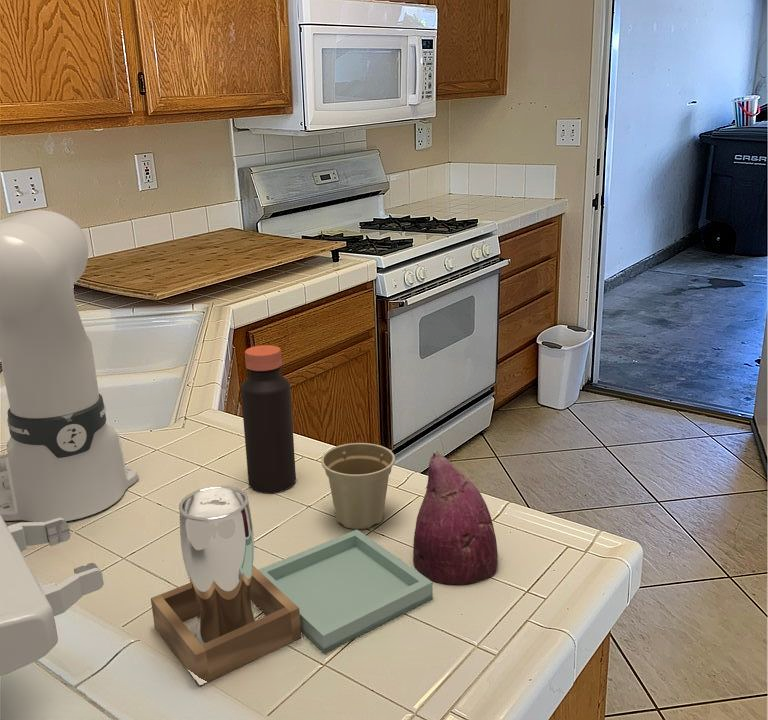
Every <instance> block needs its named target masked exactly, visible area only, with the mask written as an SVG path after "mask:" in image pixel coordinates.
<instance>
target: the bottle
mask: <svg viewBox="0 0 768 720" xmlns="http://www.w3.org/2000/svg"><path fill="white" fill-rule="evenodd" d="M282 359H283V358H282V349H281V348H280V347H279V346H277V345H270V344H267V345H266V344H265V345H255V346H251V347H249V348H247V349H246V350H244V361H245V368H246V372H248V377H247V378H246V379H244V381H243V383H242V384H241V386H240V395H241V396H240V397H241V398H240V399H241V408H242V419H243V421H242V422H243V432H244V433H243V434H244V443H245V445H244V446H245V454H246V458H245V459H246V467H247V469H246V470H247V478H248V479H247V480H248V486H249V487H250V488H251V490H253V491H255V492H257V493H261V492H262V494H276V493H275V492H277V493H281V492H285V491H286V490H288V489H290V488H292V486H294V485H295V483H296V481H297V478H296V477H297V471H296V460H295V459H296V458H295V457H296V456H295V455H296V454H295V443H294V439H295V438H294V426H293V423H294V422H293V411H292V410H293V409H292V407H293V406H292V394H291V393H292V392H291V391H292V390H291V383H290V381H289V380H288V379H287V378H286V377H285V376H283V374H281V370H282V368H283V367H282V365H283V361H282ZM280 491H281V492H280Z"/></svg>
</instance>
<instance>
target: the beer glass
mask: <svg viewBox="0 0 768 720" xmlns="http://www.w3.org/2000/svg"><path fill="white" fill-rule="evenodd" d="M249 503H250V502H249V496H248V494H247V493H246V492H245V491H244V490H243V489H241V488H237V487H235V486H229V485H226V486H225V485H221V486H220V485H216V486H208V487H204V488H201V489H197V490H195V491H194V490H193V492H190V493H189V494H187V495H186V496H184V497H183V498H182V499H181V501H180V502H179V505H178V510H179V533H180V534H179V536H180V547H181V554H182V560H183V563H184V568H185V570H186V574H187V577H188V581H189V583H190V584H191V587H192V589H193V592H194V596H195V599H196V603H197V610H198V615H197V620H196V629H195V634H196V635H195V638H196V639H197V640H198V641H199V643H200V644H201V645H203V644H205V643H207V642H209V641H212V640H214V639H216V638H218V637H220V636H223V635H225V634H227V633H229V632H232V631H234V630H236V629H238V628H240V627H243V626H245V625H247V624H249V623H251V622H254V621H256V618H255V615H254V612H253V609H252V600H251V599H250V588H251V578H252V570H253V566H254V559H255V558H254V557H255V556H254V554H255V537H254V527H253V525H254V524H253V519H252V513H251V508H250V504H249Z"/></svg>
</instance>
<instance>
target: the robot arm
mask: <svg viewBox="0 0 768 720" xmlns="http://www.w3.org/2000/svg"><path fill="white" fill-rule="evenodd" d="M88 260H89V246H88V241H87V237H86V235H85V233H84V231H83V230H82V228H81V227H80V226H79V225H78V224H77V223H76V222H75V221H73V220H72V219H71V218H69V217H68V216H66V215H63V214H61V213H59V212H55V211H50V210H43V209H42V210H41V209H37V210H30V211H25V212H22V213H19V214H15V215H13V216H11V217H7V218H4V219H1V220H0V364H1V368H2V369H1V370H2V374H3V379H4V385H5V388H6V389H5V390H6V395H7V401H8V405H9V408H8V410H7V419H6V420H7V421H6V422H7V427H8V430H9V435H10V438H9V440H8V441H7V443H6V452H7V453H6V454H3V455H2V454H1V455H0V677H2V676H4V675H7V674H10V673H12V672H15V671H17V670H19V669H22V668H24V667H26V666H28V665H30V664H33V663H34V662H37V661H39V660H40V659H43V658H44V657H45V656H47V654H49V653H50V652H51V651H52V650H53V649H54V648H55V646H57V644H58V642H59V638H58V637H59V635H58V632H57V623H56V619H55V617H56V616H59V615H62V614H64V613H65V612H67V611H68V610H69V609H70V608H71V607H72V606H73V605H75V604H76V603H77V602H78V601H79V600H81V599H82V598H83V596H86V595H88V594H91V593H94V592H96V591H99V590H101V589H102V588H103V586H104V585H105V583H104V578H103V577H104V576H103V571H102V570H101V569H100V568H99V567H98V565H97V564H96V562H95V563H94V562H90V563H87V564H86V565H81V566H78V567H75V568H73V572H74V574H72V575H70V577H68V578H66V579H65V580H63V581H62V582H60V583H58V584H57V583H56V582H54V581H52V582H50V583H47V584H44V585H41V586H40V583H39V582H38V580H37V577H36V576H35V575H34V573H33V571H32V569H31V567H30V566H29V564H28V562H27V559H26V558H25V556H24V554H23V553H22V552H24V551H27V550H28V547H29V546H36V545H43V544H49V546H50V547H54V546H56V545H59V544H61V543H65V542H68V541H69V540H70V539H71V532H70V526H69V524H68V523H67V522H69V521H70V522H71V521H74V520H79V519H83V518H86V517H89V516H92V515H94V514H97V513H99V512H102V511H103V510H106V509H108V508H110V507H111V506H112V505H114V504H116V503H117V502H118V501H119V500H120V499H121V498H122V497H123V495H124V494H125V492H126V490H127V489H128V488H129V487H130V486H132V485H133V484H135V483H136V482H137V481H138V480H139V475H138V472H137V471H136V470H134V469H133V468H130V467H129V466H126V462H125V457H124V451H123V447H122V446H123V445H122V442H121V438H120V433H119V430H118V429H115V428H114V426H111V425H109V424H107V415H106V411H107V408H106V404H105V403H104V399H103V395H102V394H101V393H100V392H99V386H98V379H97V371H96V365H95V357H94V351H93V345H92V340H91V339H90V337H89V335H88V334H87V332H86V330H85V327H84V325H83V322H82V319H81V315H80V313H79V310H78V306H77V302H76V299H75V293H74V292H75V291H74V288H75V287H74V285H75V284H76V283H77V282H78V281H79V280H80V278H81V277H82V276H83V274H84V273H85V270H86V268H87V265H88ZM6 521H7V522H9V521H21V522H18V523H13V524H11V525H7V523H6ZM22 521H24V522H22Z"/></svg>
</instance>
